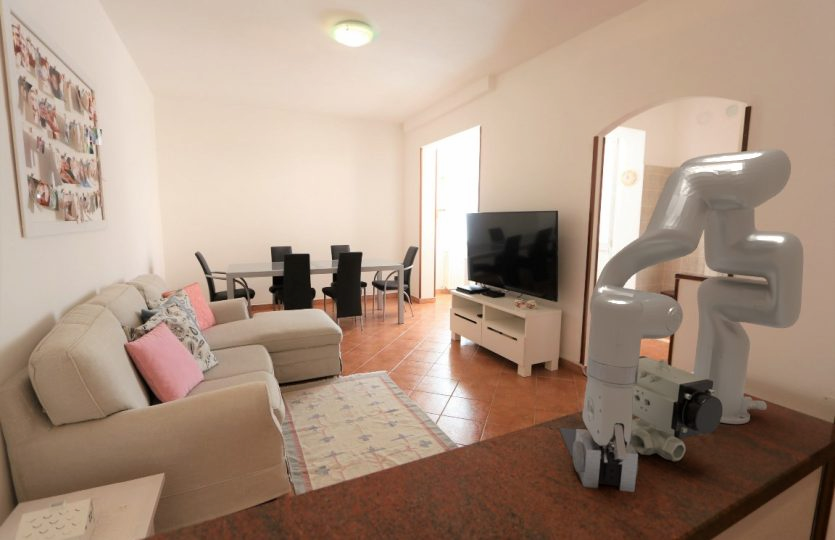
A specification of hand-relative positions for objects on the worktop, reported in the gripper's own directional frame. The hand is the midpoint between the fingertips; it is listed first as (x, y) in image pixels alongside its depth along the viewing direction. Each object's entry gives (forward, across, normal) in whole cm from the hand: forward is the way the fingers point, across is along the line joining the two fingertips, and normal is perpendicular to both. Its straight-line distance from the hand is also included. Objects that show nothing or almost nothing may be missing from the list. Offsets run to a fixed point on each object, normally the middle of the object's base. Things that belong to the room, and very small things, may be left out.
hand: (602, 471), depth 67 cm
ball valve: (+1, -10, +12) cm, 16 cm away
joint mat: (+1, -10, +1) cm, 10 cm away
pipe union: (+1, 0, 0) cm, 1 cm away
